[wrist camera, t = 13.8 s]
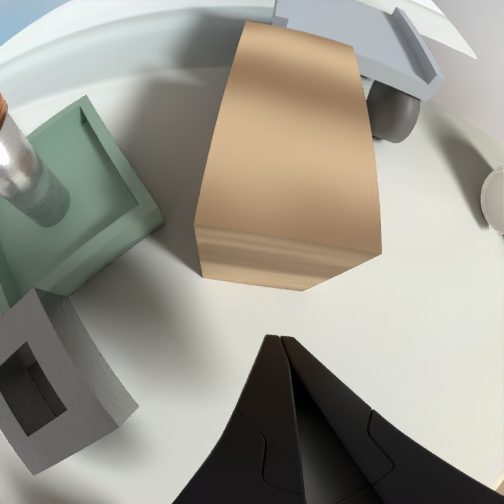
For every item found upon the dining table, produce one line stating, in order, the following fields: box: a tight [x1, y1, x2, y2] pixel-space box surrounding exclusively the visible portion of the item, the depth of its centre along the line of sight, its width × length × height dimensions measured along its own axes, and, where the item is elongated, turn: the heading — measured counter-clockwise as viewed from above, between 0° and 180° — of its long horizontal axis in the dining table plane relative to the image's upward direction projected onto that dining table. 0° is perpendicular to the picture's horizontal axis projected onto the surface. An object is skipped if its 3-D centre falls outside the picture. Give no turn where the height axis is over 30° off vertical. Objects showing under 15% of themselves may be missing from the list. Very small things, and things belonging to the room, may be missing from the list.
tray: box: [0, 95, 165, 316], centre depth 15 cm, size 12×12×2 cm
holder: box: [0, 287, 139, 476], centre depth 12 cm, size 8×8×4 cm
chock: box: [194, 21, 382, 291], centre depth 14 cm, size 12×6×9 cm, turn 173°
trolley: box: [271, 0, 445, 143], centre depth 19 cm, size 15×12×9 cm
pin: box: [0, 93, 70, 228], centre depth 11 cm, size 4×4×10 cm
